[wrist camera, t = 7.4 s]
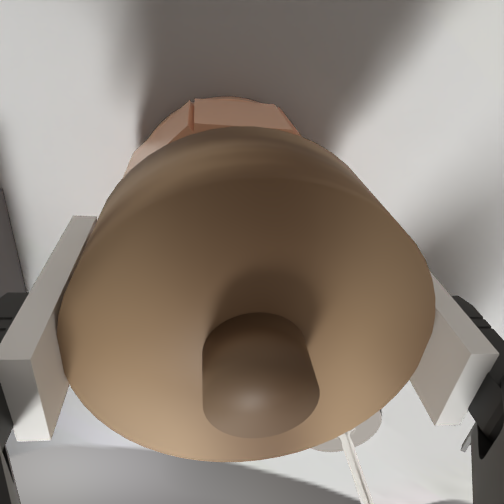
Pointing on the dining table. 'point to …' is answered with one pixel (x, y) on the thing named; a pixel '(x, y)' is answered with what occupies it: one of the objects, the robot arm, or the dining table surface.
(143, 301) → the lid
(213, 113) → the bowl
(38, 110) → the dining table surface
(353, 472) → the wineglass
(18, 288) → the stand
